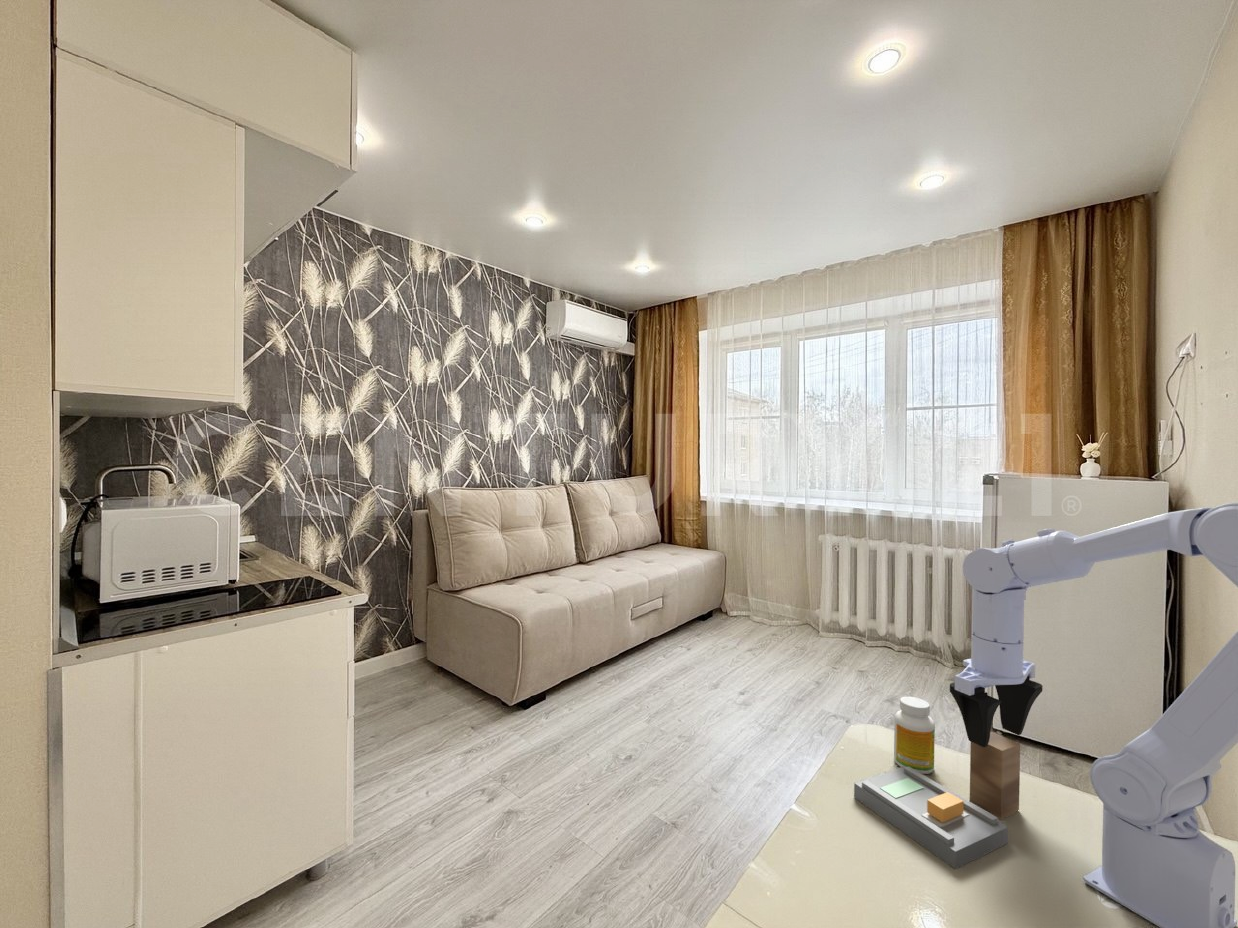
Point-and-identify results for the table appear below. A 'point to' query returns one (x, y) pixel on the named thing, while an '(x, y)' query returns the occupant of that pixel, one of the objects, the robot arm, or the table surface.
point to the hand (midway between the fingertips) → (995, 737)
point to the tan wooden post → (995, 776)
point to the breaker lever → (945, 806)
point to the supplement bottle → (914, 735)
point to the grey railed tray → (906, 809)
